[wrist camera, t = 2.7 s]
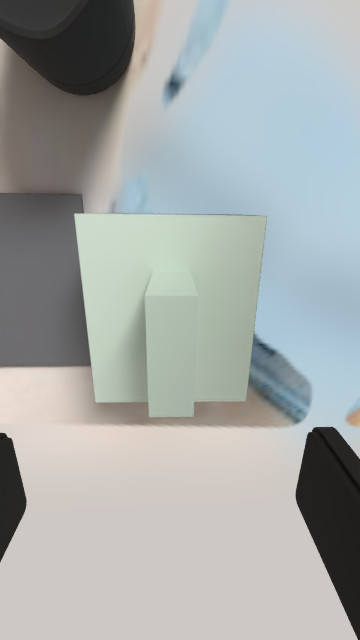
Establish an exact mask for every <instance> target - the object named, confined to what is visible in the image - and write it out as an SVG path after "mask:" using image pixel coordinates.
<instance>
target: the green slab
mask: <svg viewBox="0 0 360 640" xmlns="http://www.w3.org/2000/svg"><path fill="white" fill-rule="evenodd" d="M74 216H75V225H76V234H77V243H78V252H79V261H80V270H81V278H82V287H83V296H84V305H85V314H86V323H87V332H88V340H89V349H90V358H91V367H92V376H93V385H94V394H95V402H96V403H99V402H148V407H149V417H194V402H233V401H246V397H247V388H248V380H249V371H250V362H251V353H252V344H253V335H254V327H255V318H256V309H257V300H258V291H259V282H260V273H261V265H262V255H263V247H264V238H265V229H266V221H267V216H236V215H155V214H74Z"/></svg>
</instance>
